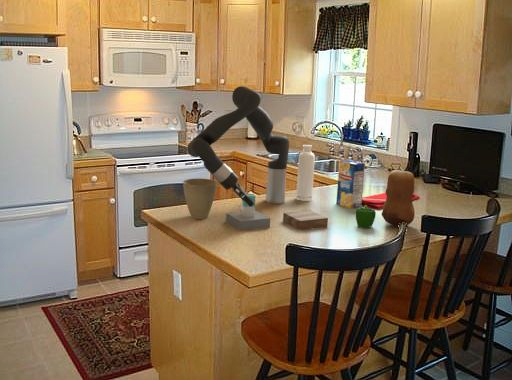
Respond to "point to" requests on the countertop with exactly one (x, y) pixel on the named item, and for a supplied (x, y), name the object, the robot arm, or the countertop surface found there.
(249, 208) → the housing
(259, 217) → the grey stand
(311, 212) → the walnut stand
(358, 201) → the beverage box
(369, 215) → the bell pepper
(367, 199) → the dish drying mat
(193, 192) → the plant pot
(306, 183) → the bottle
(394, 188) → the butternut squash
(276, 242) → the countertop surface
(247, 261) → the countertop surface
